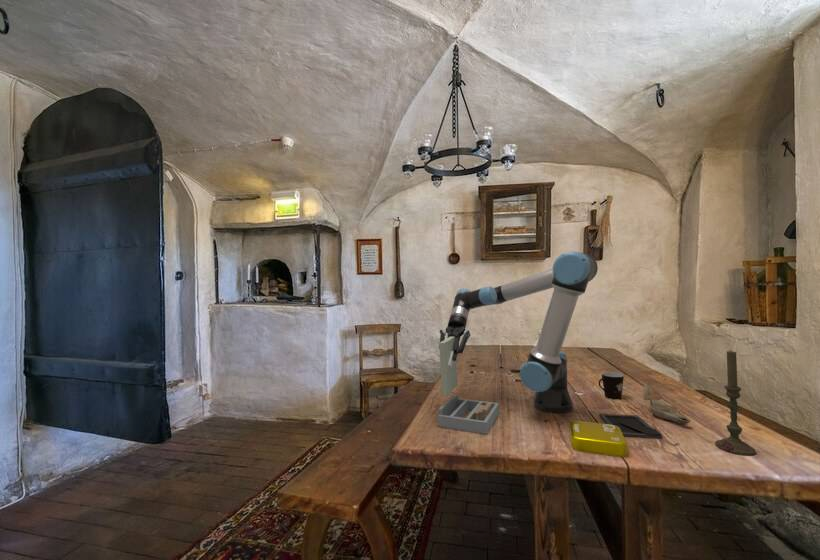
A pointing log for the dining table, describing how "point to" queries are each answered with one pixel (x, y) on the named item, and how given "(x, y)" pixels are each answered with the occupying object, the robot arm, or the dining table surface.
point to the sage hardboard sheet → (446, 373)
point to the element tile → (597, 438)
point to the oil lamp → (662, 407)
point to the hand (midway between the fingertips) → (446, 366)
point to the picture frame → (631, 426)
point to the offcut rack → (458, 407)
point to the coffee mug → (612, 384)
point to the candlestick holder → (733, 413)
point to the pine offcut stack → (482, 412)
